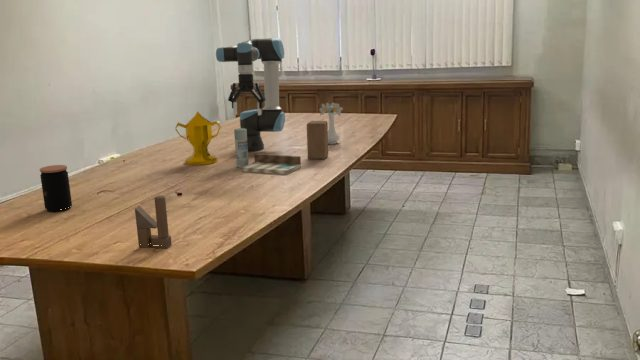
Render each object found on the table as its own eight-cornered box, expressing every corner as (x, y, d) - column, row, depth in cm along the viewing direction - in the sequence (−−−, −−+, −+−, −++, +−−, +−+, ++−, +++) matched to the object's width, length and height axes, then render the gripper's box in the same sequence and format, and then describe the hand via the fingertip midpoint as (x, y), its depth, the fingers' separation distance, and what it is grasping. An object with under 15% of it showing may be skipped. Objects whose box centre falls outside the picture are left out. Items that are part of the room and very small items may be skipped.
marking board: (241, 171, 328) (241, 159, 327) (256, 164, 343) (256, 153, 341) (287, 174, 318) (286, 162, 317) (300, 167, 332) (300, 156, 331)
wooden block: (325, 159, 349) (324, 123, 344) (307, 159, 351) (306, 123, 346) (328, 155, 359) (327, 120, 354) (311, 155, 361) (310, 120, 356)
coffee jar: (50, 206, 275) (44, 165, 271) (75, 204, 276) (70, 164, 272) (41, 213, 265) (35, 171, 261) (68, 212, 266) (62, 170, 262)
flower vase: (345, 140, 403) (344, 100, 396) (338, 145, 385) (337, 104, 379) (325, 139, 406) (324, 100, 400) (317, 145, 389) (316, 104, 383)
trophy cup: (176, 161, 358) (172, 111, 351) (219, 156, 366) (216, 107, 359) (181, 167, 342) (176, 115, 335) (226, 162, 350) (222, 111, 343)
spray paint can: (239, 168, 335) (236, 130, 330) (234, 166, 340) (232, 129, 335) (250, 166, 337) (248, 129, 332) (246, 164, 343) (244, 127, 338)
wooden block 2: (143, 244, 224) (137, 194, 220) (172, 245, 222) (167, 195, 218) (138, 247, 221) (133, 197, 216) (167, 248, 219) (163, 198, 214)
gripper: (220, 74, 328) (222, 115, 332) (265, 73, 321) (266, 115, 325) (226, 73, 335) (228, 113, 339) (270, 73, 328) (272, 114, 332)
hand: (247, 115), depth 332 cm, fingers open, 13 cm apart
